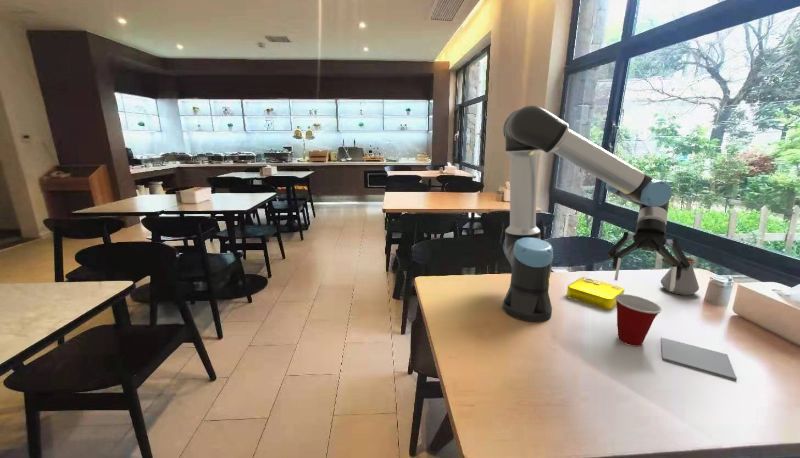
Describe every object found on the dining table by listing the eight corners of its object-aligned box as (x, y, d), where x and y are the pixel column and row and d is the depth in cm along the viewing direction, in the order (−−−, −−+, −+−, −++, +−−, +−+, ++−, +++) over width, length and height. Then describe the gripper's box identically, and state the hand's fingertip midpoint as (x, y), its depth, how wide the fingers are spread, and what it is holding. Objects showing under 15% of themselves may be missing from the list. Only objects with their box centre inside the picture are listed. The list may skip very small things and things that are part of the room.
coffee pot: (669, 283, 140) (677, 247, 137) (703, 294, 130) (713, 256, 126) (637, 292, 131) (644, 254, 127) (671, 305, 121) (680, 264, 117)
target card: (662, 359, 89) (662, 357, 89) (660, 339, 99) (661, 337, 99) (736, 380, 82) (736, 378, 82) (726, 356, 91) (727, 354, 91)
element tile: (564, 297, 127) (566, 284, 126) (580, 286, 137) (582, 275, 136) (609, 311, 116) (612, 298, 115) (624, 299, 126) (626, 286, 125)
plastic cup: (662, 354, 92) (671, 312, 89) (617, 348, 94) (624, 308, 91) (643, 333, 102) (650, 295, 99) (602, 328, 104) (609, 291, 101)
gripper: (699, 236, 107) (694, 299, 98) (605, 225, 120) (594, 279, 112) (705, 222, 101) (701, 288, 93) (606, 212, 115) (595, 268, 106)
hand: (643, 283), depth 102 cm, fingers open, 13 cm apart
